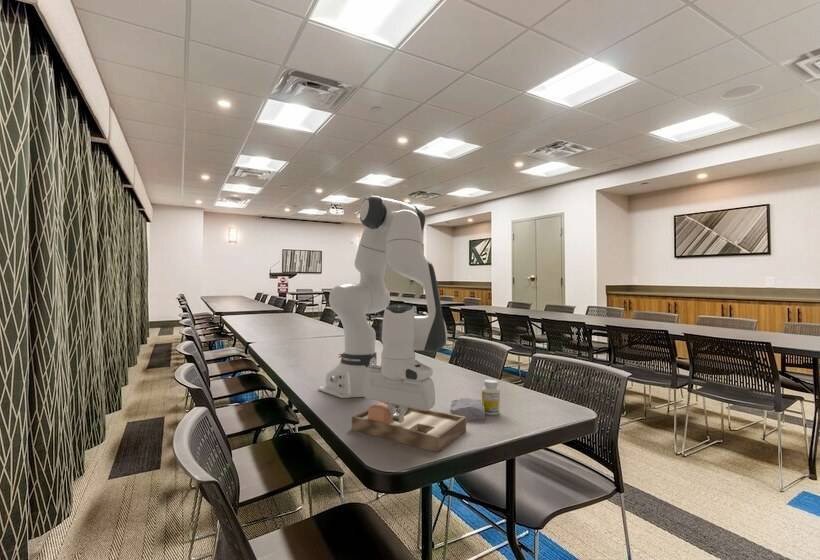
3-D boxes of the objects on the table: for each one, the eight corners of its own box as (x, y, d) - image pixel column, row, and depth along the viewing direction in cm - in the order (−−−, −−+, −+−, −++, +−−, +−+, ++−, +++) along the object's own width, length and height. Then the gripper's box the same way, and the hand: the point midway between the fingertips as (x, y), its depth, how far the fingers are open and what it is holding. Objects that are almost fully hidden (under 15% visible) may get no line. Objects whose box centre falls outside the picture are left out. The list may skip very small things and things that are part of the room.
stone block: (454, 427, 110) (488, 420, 110) (450, 410, 110) (485, 404, 110) (451, 414, 122) (482, 409, 121) (448, 399, 122) (479, 394, 122)
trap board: (351, 429, 101) (352, 416, 102) (387, 412, 116) (387, 401, 116) (437, 452, 88) (437, 437, 88) (466, 429, 102) (466, 417, 102)
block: (368, 422, 100) (368, 407, 100) (379, 417, 104) (379, 402, 104) (383, 426, 97) (383, 410, 97) (394, 420, 102) (394, 405, 102)
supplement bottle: (495, 416, 113) (495, 384, 113) (478, 413, 116) (479, 381, 116) (502, 412, 118) (502, 380, 118) (486, 408, 121) (486, 378, 121)
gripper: (358, 364, 102) (357, 417, 101) (426, 375, 91) (425, 433, 91) (373, 361, 107) (372, 410, 107) (438, 370, 96) (437, 425, 96)
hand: (397, 421), depth 99 cm, fingers closed
